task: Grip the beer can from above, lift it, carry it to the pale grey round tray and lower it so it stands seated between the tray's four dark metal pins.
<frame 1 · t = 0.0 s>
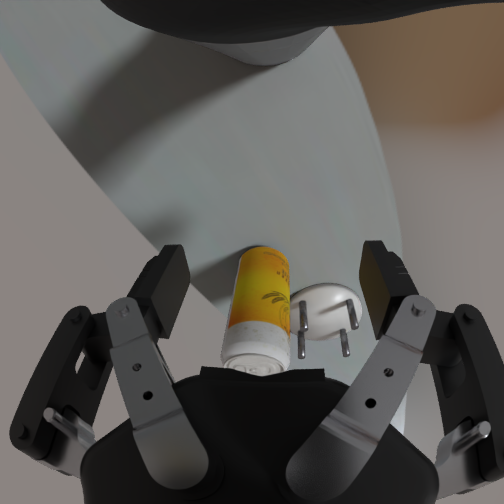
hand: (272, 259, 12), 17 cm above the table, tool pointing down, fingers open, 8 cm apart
pin tray: (323, 311, 38), on the table
beer can: (264, 262, 34), on the table
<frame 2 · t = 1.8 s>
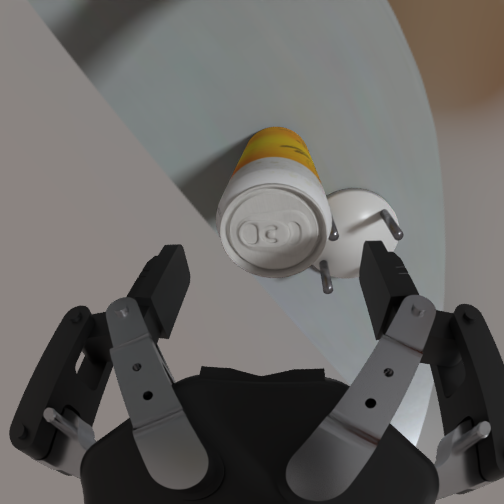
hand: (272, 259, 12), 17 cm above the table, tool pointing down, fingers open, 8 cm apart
pin tray: (351, 233, 30), on the table
beer can: (276, 155, 26), on the table
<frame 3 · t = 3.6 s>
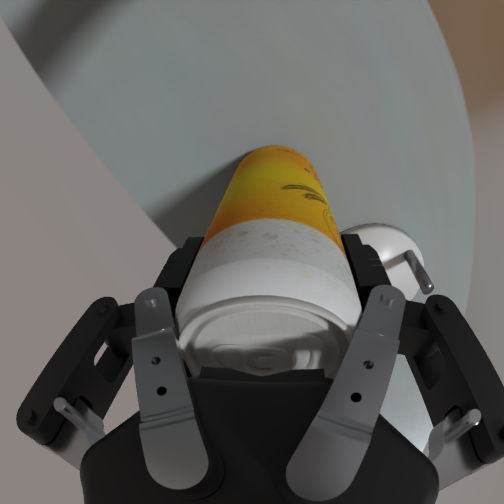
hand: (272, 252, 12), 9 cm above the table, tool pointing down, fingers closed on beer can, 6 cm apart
pin tray: (366, 276, 24), on the table
beer can: (276, 182, 20), on the table, touching gripper
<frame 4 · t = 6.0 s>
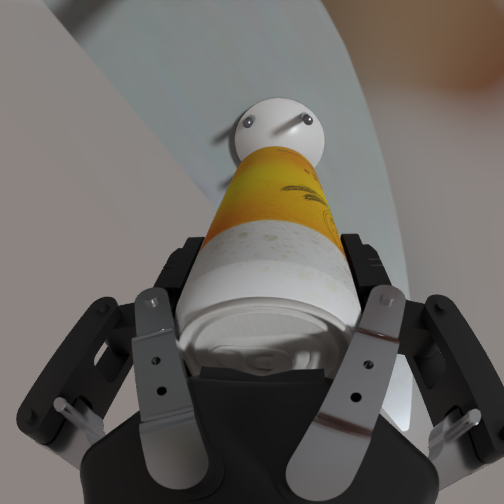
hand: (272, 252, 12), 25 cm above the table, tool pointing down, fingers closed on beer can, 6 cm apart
pin tray: (279, 139, 33), on the table
beer can: (276, 182, 20), point 16 cm above the table, touching gripper
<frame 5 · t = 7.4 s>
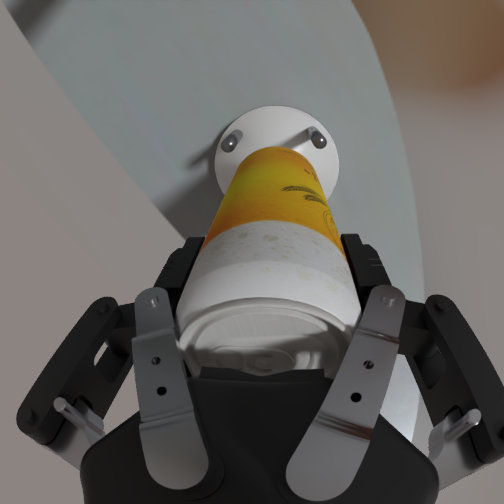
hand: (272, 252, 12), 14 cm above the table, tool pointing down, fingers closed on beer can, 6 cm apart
pin tray: (276, 164, 24), on the table
beer can: (276, 182, 20), point 5 cm above the table, touching gripper
when the fingers open (12 cm above the table, at t = 8.5 s): beer can drops 1 cm, resting on pin tray.
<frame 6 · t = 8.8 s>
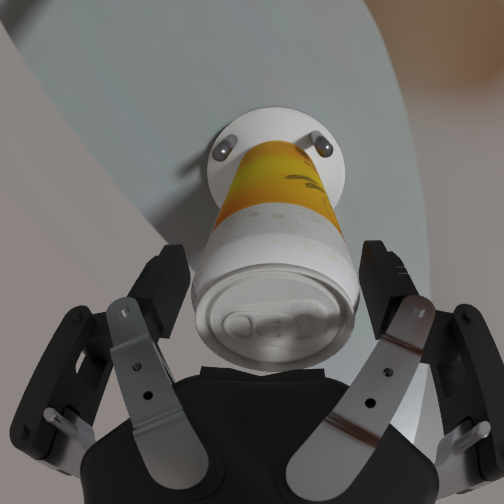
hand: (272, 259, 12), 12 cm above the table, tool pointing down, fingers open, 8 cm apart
pin tray: (276, 172, 22), on the table
beer can: (277, 174, 21), point 1 cm above the table, touching pin tray
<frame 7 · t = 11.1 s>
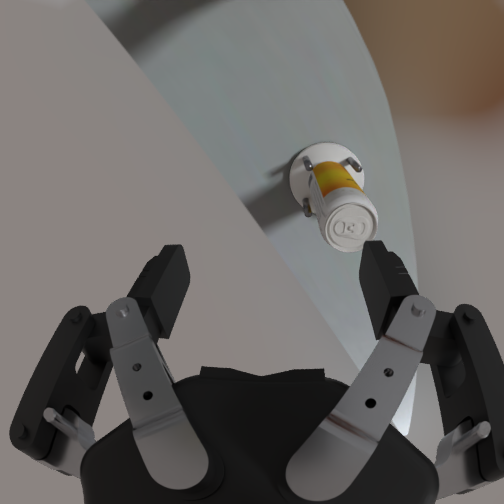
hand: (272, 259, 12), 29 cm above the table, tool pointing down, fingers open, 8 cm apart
pin tray: (326, 178, 39), on the table
beer can: (328, 179, 38), point 1 cm above the table, touching pin tray
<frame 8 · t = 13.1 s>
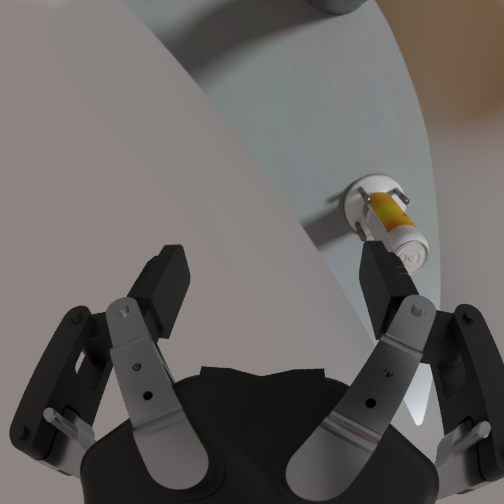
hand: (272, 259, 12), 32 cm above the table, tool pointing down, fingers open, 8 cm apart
pin tray: (374, 204, 43), on the table
beer can: (376, 206, 42), point 1 cm above the table, touching pin tray
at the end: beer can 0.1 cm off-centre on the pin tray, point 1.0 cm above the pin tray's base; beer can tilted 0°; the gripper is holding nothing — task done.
